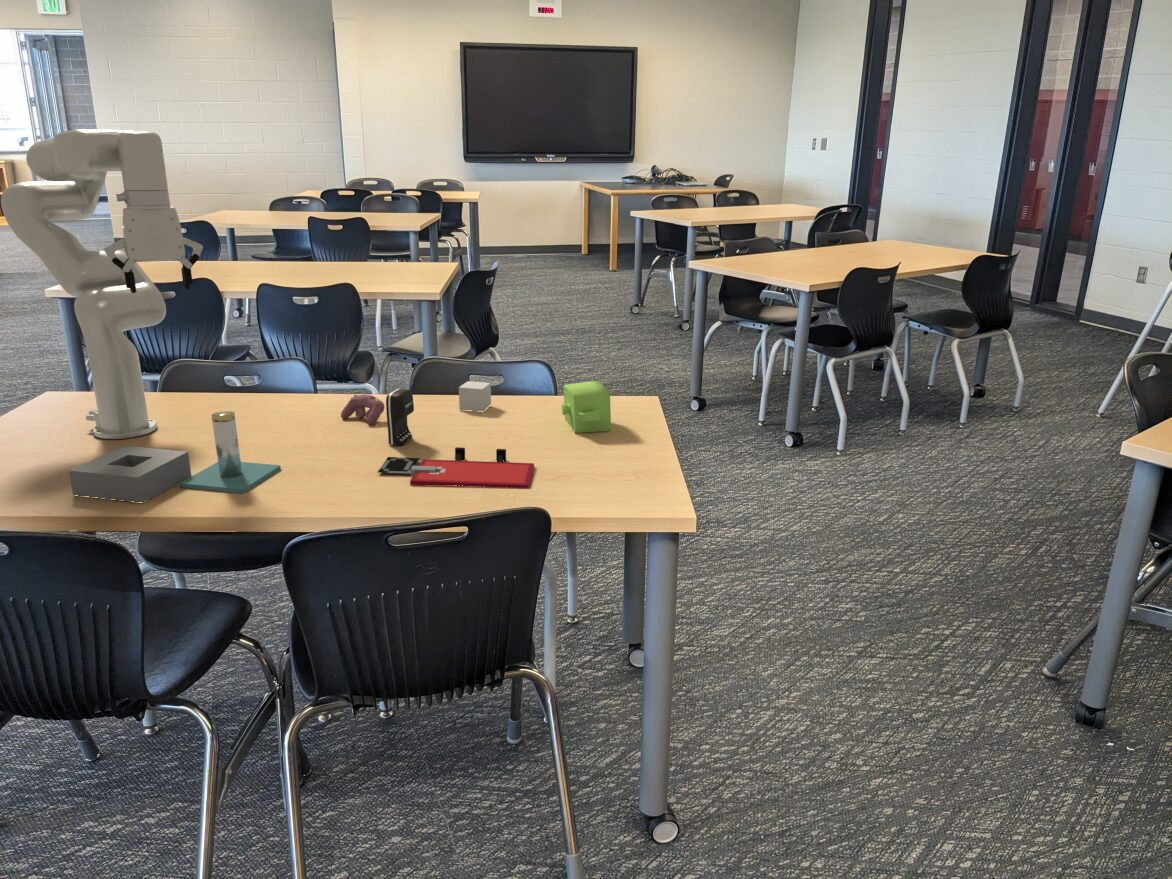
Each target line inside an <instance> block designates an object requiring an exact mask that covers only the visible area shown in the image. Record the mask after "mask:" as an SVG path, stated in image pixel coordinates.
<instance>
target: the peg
mask: <svg viewBox="0 0 1172 879" xmlns="http://www.w3.org/2000/svg"><path fill="white" fill-rule="evenodd" d="M235 414H236V413H235V411H232V410H221V411H216V412H213V413H212V414H211V420H212V428H213V429H212V430H213V435H214V442H215V444H214V445H215V449H216V450H215V451H216V459H217V462H218V466H219V473H220V476H221V477H224V478H231V477H236V476H239V475H241V474H242V467H241V462H242V459H241V454H240V453H241V452H240V446H239V438H238V430H237V422H236V416H235Z"/></svg>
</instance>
